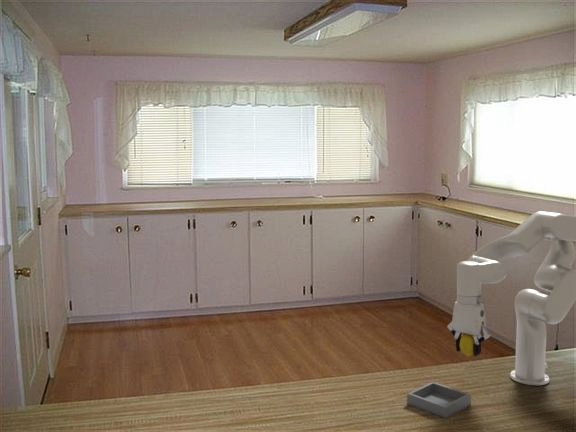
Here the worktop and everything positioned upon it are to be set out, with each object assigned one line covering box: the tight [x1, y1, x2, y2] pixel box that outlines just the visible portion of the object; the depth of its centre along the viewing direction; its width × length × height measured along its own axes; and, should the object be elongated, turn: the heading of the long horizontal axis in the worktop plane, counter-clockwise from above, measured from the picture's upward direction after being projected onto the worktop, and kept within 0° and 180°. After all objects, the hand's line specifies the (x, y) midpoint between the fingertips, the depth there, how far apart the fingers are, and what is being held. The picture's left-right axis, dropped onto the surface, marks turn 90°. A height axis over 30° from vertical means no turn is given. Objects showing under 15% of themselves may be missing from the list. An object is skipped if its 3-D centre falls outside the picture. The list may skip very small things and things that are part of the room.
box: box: [406, 381, 472, 420], centre depth 182 cm, size 14×14×4 cm
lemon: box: [460, 333, 475, 358], centre depth 191 cm, size 6×6×8 cm
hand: (468, 352), depth 191 cm, fingers closed on lemon, 5 cm apart
